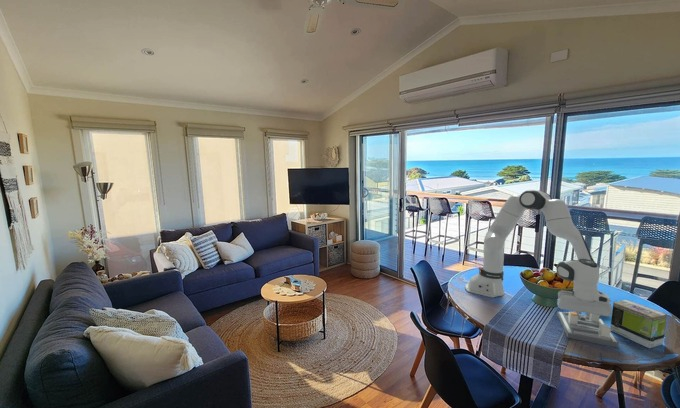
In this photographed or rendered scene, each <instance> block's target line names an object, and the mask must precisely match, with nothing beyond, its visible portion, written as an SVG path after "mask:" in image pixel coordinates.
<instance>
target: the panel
mask: <svg viewBox="0 0 680 408" xmlns="http://www.w3.org/2000/svg"><path fill="white" fill-rule="evenodd" d="M569 312H570V311H568V312H567V311H559V310H558V311H557V312H556V313H557V315H556V316H557V317H558V319H559V322H560V324H561V327H562V329H563V331H564V333H565V335H566V337H567V338H568V339H572V340H573V339H574V340H577V341H583V342H588V343H593V344H598V345H604V346H607V347H613V348H619V342H618V341H617V339H616V338H615V336H614V335H613V334H612V331H611V329H610V327H611V326H609V325H608V324H606V323H605V322H604V321H603V319H602V318H600V316H601V315H596V314H590V316H589V317H588V318H587V320H586V321H582V320H578V323H577V324H571V323H570V325H569V323H568V313H569ZM576 314H577V313H576ZM577 315H578V314H577ZM579 315H581V316H584V315H585V314H581V313H580V314H579Z"/></svg>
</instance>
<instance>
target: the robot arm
mask: <svg viewBox="0 0 680 408" xmlns="http://www.w3.org/2000/svg"><path fill="white" fill-rule="evenodd" d="M527 210H531V211H541V212H542V213H543V215H544V219H545V224H546V228H547V231H548V232H549V233H550V234H551V235H553V236H554V237H557V238H560V239H563V240H565V241H566V242H569V243H570V244H571V246H572V247H573V251H574V253H575V256H576V258H577V260H576V259H575V260H562V261H559V262H558V263H557V264H556V269H555V270H556V273H557V275H558V276H559V278H560V279H561V280H564V281H567V282H573V288H572V289H573V290H572V291H570V290H565V289H562V290H559V291H558V292H557V297H558V298H557V301H556V304H557V307H558V308H559V309H561V310H565V311H566V310H567V311H571V312H576V314H578V320H582V321H586V320H587V318H588V317H589V316H590V314H596V315H600V316H604V317H612V309H613V306H612V305H611V303H610V302H611V298H610V297H609V296H608V294H606V293H605V292H603V291H600V290H599V289H598V283H599V281H600V268H599V267H600V266H599V265H598V263H596V261H595V260H594V258H593V256H592V253H591V252H590V249H589V247H588V245H587V242H586V239H585V237H584V236H583V234H582V232H581V231H580V230H579V229H578V228H577V227H576V226H575V224H574V222H573V219H572V215H571V212H570V210H569V206H568V205H567V203H566V202H565V201H564V200H563V199H561V198H552V196H551V195H550V194H549V193H547V192H545V191H541V190H535V189H528V190H525V191H523V192H522V193H521V194H520V195H519V194H512V195H510V196H509V197H508V199H507V200H506V201H505V202H504V204H503V206H502V207H501V209H500V210H499V212H498V214H497V215H496V217H495V218H494V220H493V222H492V224H491V226H489V229H487V231H486V233H485V236H484V238H483V264H482V266H479V267H478V270H479V271H478V273H477V274H475V275H473V276H471V277H470V278H469V281H468V282H466V283H465V286H464V289H465V291H466V292H468V293H471V294H476V295H480V296H484V297H488V298H495V297H502V296H504V295H505V290H504V283H503V281H504V277H505V276H504V275H505V273H504V259H505V245H506V240H507V238H508V237H509V236H510V234H511V232H512V231H513V230H514V228H515V227H516V226H517V224H518V222H519V220H520V219H521V218H522V216H523V214H524V212H525V211H527ZM581 313H585V314H583V315H584V316H581V315H582V314H581ZM579 314H581V315H579Z"/></svg>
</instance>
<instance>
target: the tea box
mask: <svg viewBox="0 0 680 408" xmlns="http://www.w3.org/2000/svg"><path fill="white" fill-rule="evenodd" d="M667 319H668V313H665V312H663V311H659V310H657V309H654V308H651V307H648V306H646V305H643V304H640V303H637V302H634V301H631V300H628V299H623V300H620V301H615V302H613V303H612V314H611V317H610V326H609V327H610V329H611V331H610V332H613V333H615V334H617V335H619V336H622V337H624V338H626V339H628V340H631V341H633V342H635V343H636V344H638V345H640V346H643V347H644V348H647V349H652V348H656V347H659V346H662V345H663V344H664V341H665V340H664V339H665V333H666V326H667V322H668V321H667Z"/></svg>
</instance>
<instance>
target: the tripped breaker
mask: <svg viewBox="0 0 680 408" xmlns="http://www.w3.org/2000/svg"><path fill="white" fill-rule="evenodd" d="M568 312H569V313H568V323H569V325H570V323H571V324H577V323H578V315H577V313H576V311H572V310H569V311H568Z"/></svg>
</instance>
